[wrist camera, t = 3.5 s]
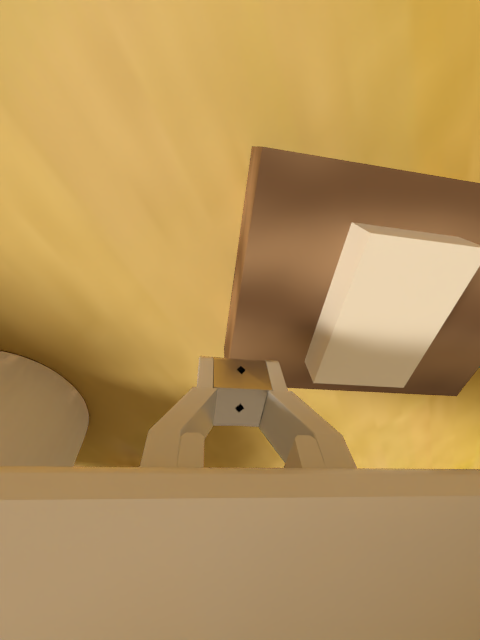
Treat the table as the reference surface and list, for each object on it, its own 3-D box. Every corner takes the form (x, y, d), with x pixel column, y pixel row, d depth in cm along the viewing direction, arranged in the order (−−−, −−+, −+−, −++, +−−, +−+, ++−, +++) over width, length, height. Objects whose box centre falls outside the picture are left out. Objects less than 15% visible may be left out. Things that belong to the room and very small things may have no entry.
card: (351, 222, 14) (370, 233, 12) (458, 236, 15) (490, 249, 13) (304, 361, 18) (313, 383, 17) (387, 366, 19) (403, 387, 18)
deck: (252, 146, 15) (262, 146, 12) (531, 193, 18) (605, 204, 14) (224, 348, 22) (225, 384, 19) (423, 362, 25) (456, 396, 21)
